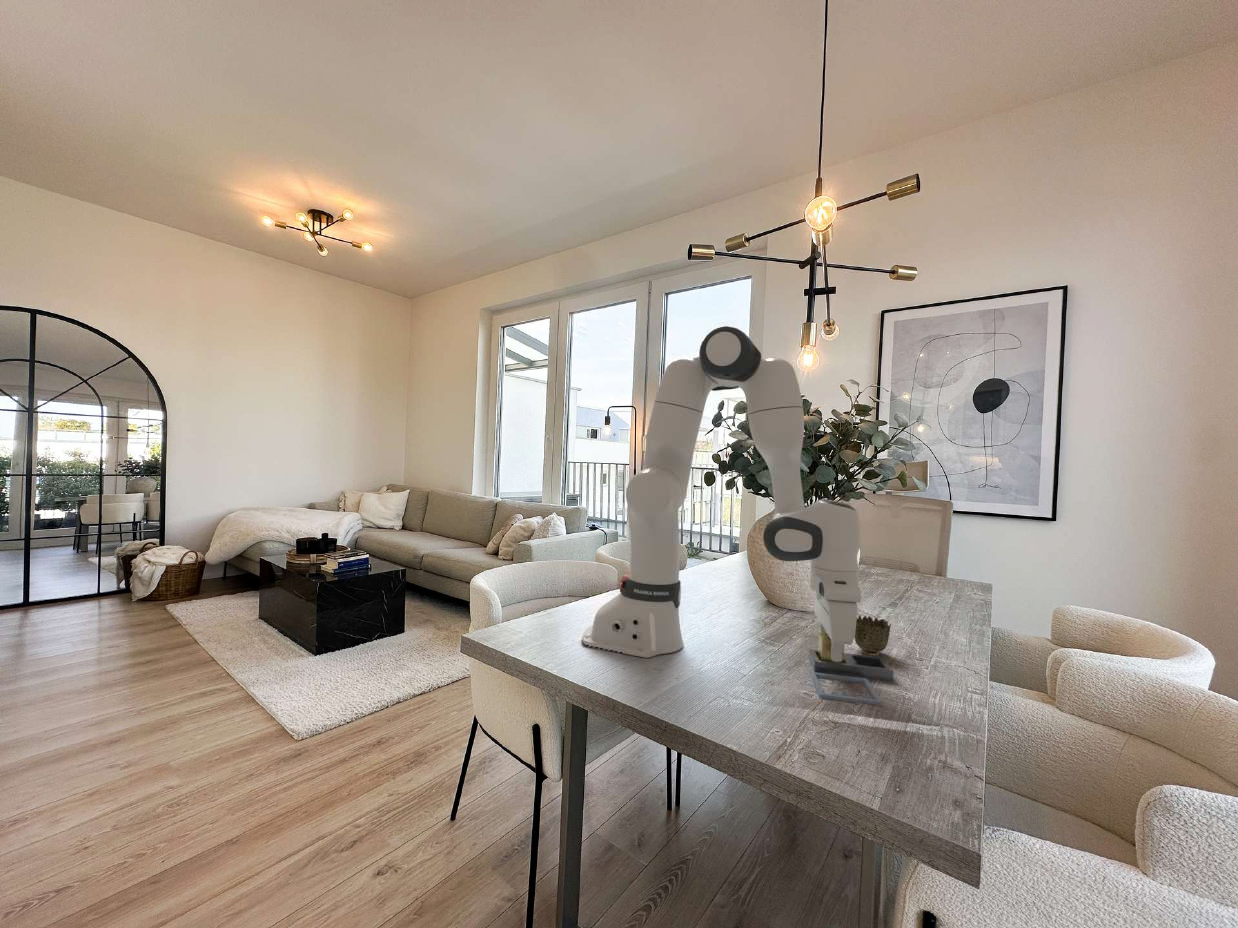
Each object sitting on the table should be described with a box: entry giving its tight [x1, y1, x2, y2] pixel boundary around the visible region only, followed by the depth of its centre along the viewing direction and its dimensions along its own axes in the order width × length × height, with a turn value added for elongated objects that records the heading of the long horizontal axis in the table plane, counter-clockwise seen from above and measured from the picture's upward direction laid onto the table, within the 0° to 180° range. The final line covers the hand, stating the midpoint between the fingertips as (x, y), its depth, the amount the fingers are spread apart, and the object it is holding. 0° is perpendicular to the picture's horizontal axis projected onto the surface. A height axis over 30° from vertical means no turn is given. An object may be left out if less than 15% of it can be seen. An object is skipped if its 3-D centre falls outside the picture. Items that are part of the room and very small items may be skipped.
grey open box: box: [808, 648, 895, 682], centre depth 100 cm, size 14×7×3 cm, turn 78°
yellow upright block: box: [817, 632, 845, 663], centre depth 101 cm, size 4×4×6 cm
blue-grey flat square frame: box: [809, 671, 884, 707], centre depth 91 cm, size 10×10×2 cm
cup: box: [854, 615, 892, 657], centre depth 111 cm, size 8×7×8 cm
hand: (830, 651), depth 101 cm, fingers open, 8 cm apart
